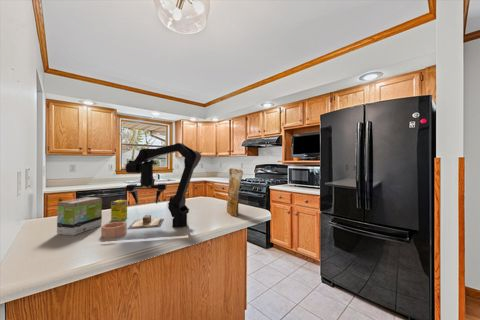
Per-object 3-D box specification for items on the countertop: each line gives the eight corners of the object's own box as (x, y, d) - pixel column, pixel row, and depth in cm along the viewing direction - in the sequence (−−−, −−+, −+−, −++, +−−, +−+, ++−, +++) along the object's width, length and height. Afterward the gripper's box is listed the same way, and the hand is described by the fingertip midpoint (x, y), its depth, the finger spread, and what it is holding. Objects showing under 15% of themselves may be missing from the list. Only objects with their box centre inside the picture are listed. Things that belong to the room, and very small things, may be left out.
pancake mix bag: (233, 209, 145) (233, 168, 145) (243, 216, 127) (243, 169, 127) (224, 210, 143) (224, 168, 143) (233, 217, 125) (233, 169, 125)
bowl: (128, 232, 100) (128, 221, 100) (122, 239, 92) (122, 227, 92) (107, 233, 98) (107, 222, 98) (98, 240, 90) (98, 228, 90)
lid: (161, 219, 117) (161, 212, 117) (157, 226, 105) (157, 218, 105) (137, 221, 115) (137, 213, 115) (131, 228, 103) (131, 220, 103)
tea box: (74, 236, 95) (74, 202, 95) (56, 234, 97) (56, 202, 97) (102, 225, 110) (102, 197, 110) (86, 224, 112) (86, 196, 112)
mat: (164, 220, 119) (164, 218, 119) (160, 229, 104) (160, 227, 104) (135, 222, 116) (135, 220, 116) (126, 231, 101) (126, 229, 101)
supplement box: (121, 222, 116) (121, 202, 116) (110, 222, 116) (110, 202, 116) (127, 219, 122) (127, 199, 122) (117, 219, 122) (117, 199, 122)
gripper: (167, 172, 120) (168, 200, 120) (131, 172, 116) (131, 201, 116) (165, 173, 109) (165, 204, 109) (125, 174, 105) (125, 206, 105)
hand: (147, 203), depth 110 cm, fingers open, 9 cm apart
